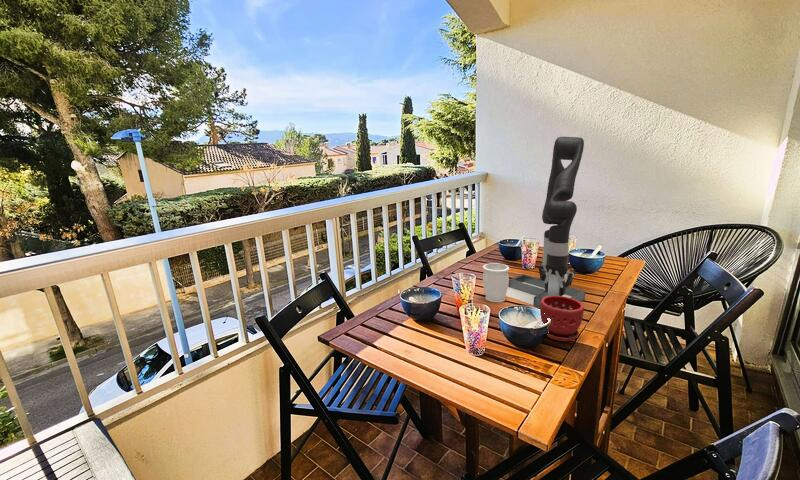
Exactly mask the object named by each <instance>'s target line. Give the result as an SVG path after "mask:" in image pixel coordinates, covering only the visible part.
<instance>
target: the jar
mask: <svg viewBox="0 0 800 480" xmlns="http://www.w3.org/2000/svg"><path fill="white" fill-rule="evenodd" d="M482 269H483V270H484V271H483V272H482V274H483V275H482V285H483V291H484V295H485V297H484V298H485V299H484V300H486V301H488V302H491V303H503V302H504V301H506V298H505V297H506V293H507V289H508V287H509V279H510V275H509V271H510V267H509V265H506V264H504V263H499V262H498V263H496V262H494V263H493V262H492V263H486V264H483V266H482Z"/></svg>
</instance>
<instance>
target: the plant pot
mask: <svg viewBox="0 0 800 480" xmlns="http://www.w3.org/2000/svg"><path fill="white" fill-rule="evenodd" d="M555 302H557V304H555ZM550 304H552V307H551V306H550ZM562 304H565V306H562ZM569 306H571V308H569ZM555 307H559V308H560V309H557V308H555ZM539 308H540V309H539V311H540V312H539V313H540V319H541V322H543V323H544V324H545V323H547V322H548V320H547V318H550V319H551V324H550V326H549V333H548V335H547V336H546V337H548V338H550V339H552V340H555V341H557V342H570V341H574V340H576V339H577V338H578V336H579V331H578V330H579V329H580V327H581V325H582V321H583V317H584V310H585V306H584V304H583V303H582V301H581V302H579V301H577V300H575V299H572V298H568V297H563V296H547V297H544V298H543V299H542V300H541V307H539ZM564 308H565V309H567V310H563V309H564ZM544 313H545V314H544ZM543 323H542V324H543Z"/></svg>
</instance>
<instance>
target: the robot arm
mask: <svg viewBox="0 0 800 480" xmlns="http://www.w3.org/2000/svg"><path fill="white" fill-rule="evenodd" d="M584 147H585V141H584V138H582V137H578V136H577V137H575V136H559V137H557V138H556V139H555V141H554V144H553V150H552V158H551V159H552V160H551V168H550V174H549V178H548V183H547V189H546V190H547V191H546V198H545V202H544V206H543V209H542V214H541V215H542V216H541V221H542V222H543V224H545V225H551V226H550V227H549V229H547V230H545V231H544V232H543V233H544V235H543V245H542V246H543V250H542V263H541V265H539V266H538V273H539V279H541V280H543V281H544V282H545V290H546V292H548V281H549V274H554V275H557V276H559V277H558V282H559V283H560V291H559V296H563V295H564V294H565V289H566V287H571V286H572V284H573V281H574V278H575V275H576V273H575V272H574V271H572V272H571V271H570V270H569V268H568V262H569V251H570V250H569V249H570V247H569V245H570V244H569V241H570V231H571V227H572V224H573V221H574V220H575V219H574V218H575V216H576V214H577V211H578V208H577V207H578V206H577V204H576V202H574V201H571V199H572V198H573V197H574V191H575V183H576V178H577V175H578V171H579V170H580V169H579V167H580V164H581V160H582V157H583V152H584ZM562 160H564V161H571V162H570V163H569V164H568V165H567V166H566V167H565V166H563V163H562ZM545 270H547V272H548V274H547V276H546V272H545ZM568 270H569V271H568ZM565 274H567V280H566V279H565ZM561 277H563V279H561ZM565 280H566V281H565Z"/></svg>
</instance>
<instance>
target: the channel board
mask: <svg viewBox="0 0 800 480" xmlns="http://www.w3.org/2000/svg"><path fill="white" fill-rule="evenodd" d="M522 283H524V284H528V283H525V282H522ZM528 285H531V286H534V287H538V286H535V285H532V284H528ZM538 288H541V289H544V290H545V288H542V287H538ZM505 297H509V298H512V299H514V300H517V301H520V302H523V303H525V304H529V305H532V306H535V305H533V303H534V297H535V295H532V294H529V293H526V292H523V291H520V290H517V289H514V288H510V287H509V286H508V289H507V293H506V295H505ZM563 297H568V298H571V297H572V296H569V295H565V294H564V295H563ZM583 301H584V300H582V301H581V302H583ZM535 307H538V306H535ZM538 308H539V307H538Z"/></svg>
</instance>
